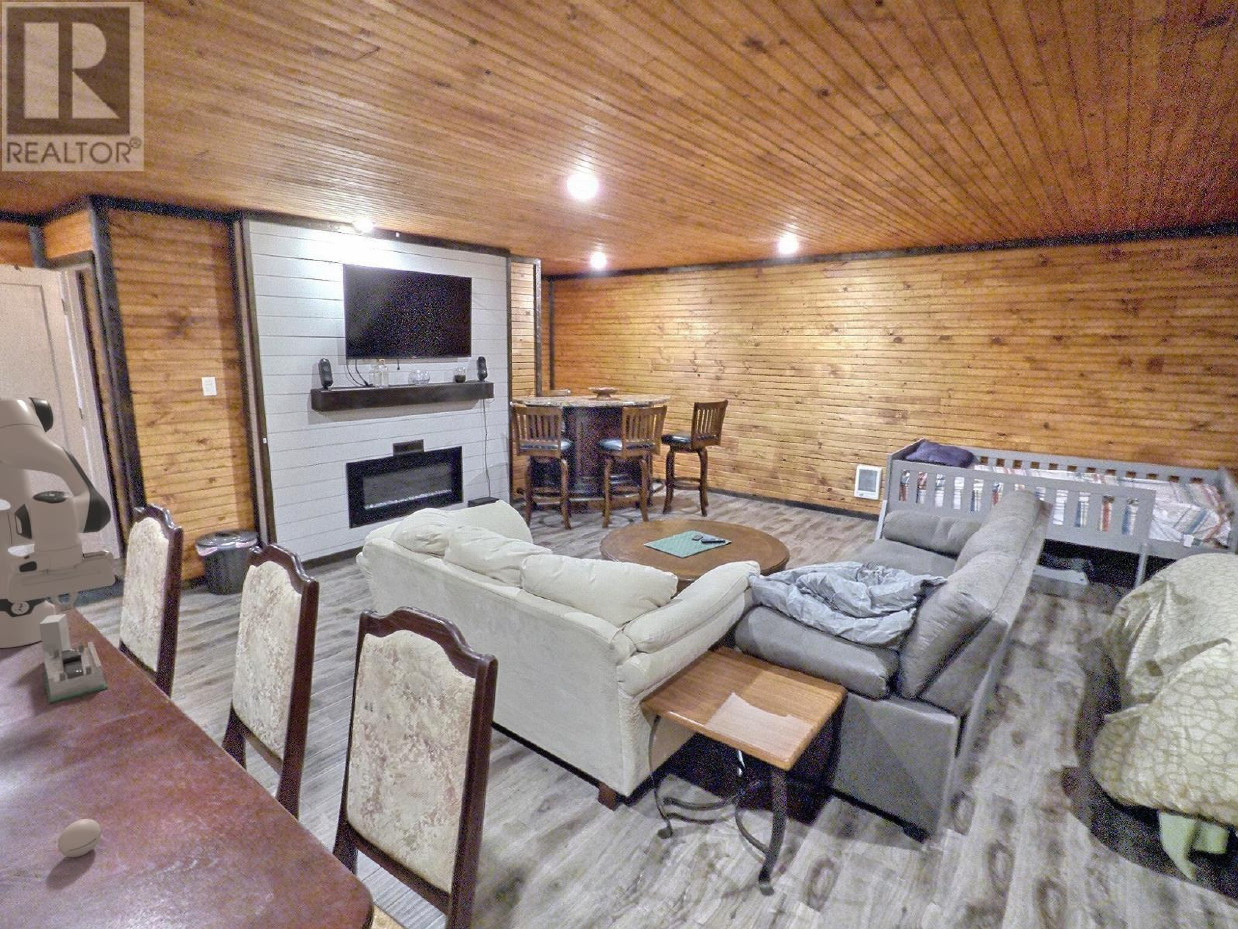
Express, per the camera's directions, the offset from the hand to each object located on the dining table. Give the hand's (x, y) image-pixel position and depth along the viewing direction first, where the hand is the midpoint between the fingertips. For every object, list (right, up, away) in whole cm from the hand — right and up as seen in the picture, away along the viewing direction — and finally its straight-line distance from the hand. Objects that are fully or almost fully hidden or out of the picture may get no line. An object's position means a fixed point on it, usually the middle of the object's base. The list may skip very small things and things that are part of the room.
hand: (66, 610), depth 158 cm
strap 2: (+1, -15, +1) cm, 16 cm away
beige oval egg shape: (+48, -30, -50) cm, 76 cm away
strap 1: (-5, -14, +7) cm, 17 cm away
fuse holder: (-2, -20, +5) cm, 20 cm away
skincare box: (-16, -18, +16) cm, 29 cm away
